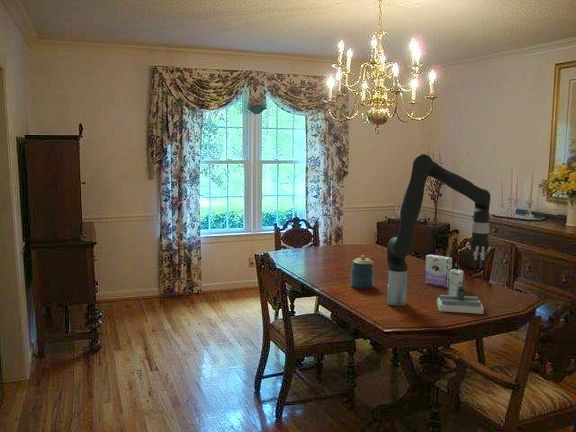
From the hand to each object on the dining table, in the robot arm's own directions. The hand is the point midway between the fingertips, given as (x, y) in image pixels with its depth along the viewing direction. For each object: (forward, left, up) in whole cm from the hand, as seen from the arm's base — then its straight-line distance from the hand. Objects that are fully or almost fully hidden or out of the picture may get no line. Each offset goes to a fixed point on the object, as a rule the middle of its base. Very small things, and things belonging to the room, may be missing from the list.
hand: (478, 267), depth 251 cm
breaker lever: (-8, 0, -18) cm, 19 cm away
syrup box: (-8, +18, -21) cm, 29 cm away
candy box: (-14, +43, -21) cm, 50 cm away
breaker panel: (-8, 0, -21) cm, 22 cm away
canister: (-56, +31, -21) cm, 67 cm away
